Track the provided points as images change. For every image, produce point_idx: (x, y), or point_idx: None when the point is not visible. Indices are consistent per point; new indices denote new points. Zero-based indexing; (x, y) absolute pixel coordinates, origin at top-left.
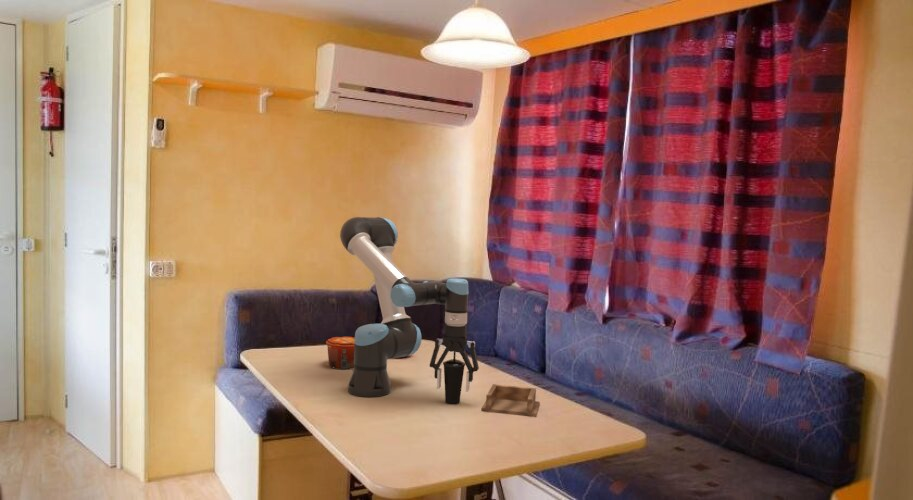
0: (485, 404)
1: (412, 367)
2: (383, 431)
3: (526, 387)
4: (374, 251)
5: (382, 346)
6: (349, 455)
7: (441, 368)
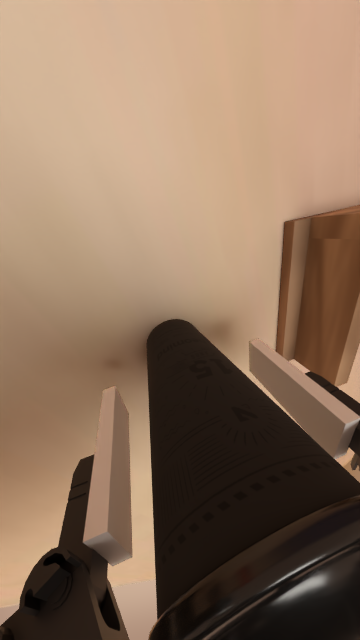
0: (290, 328)
1: None
2: (139, 540)
3: None
4: None
5: None
6: (153, 578)
7: (108, 531)
